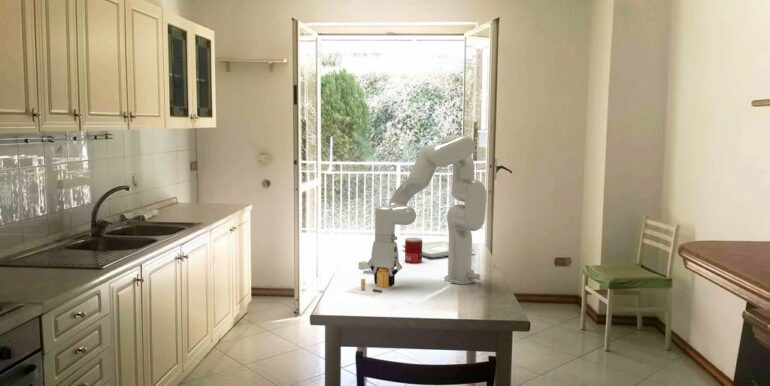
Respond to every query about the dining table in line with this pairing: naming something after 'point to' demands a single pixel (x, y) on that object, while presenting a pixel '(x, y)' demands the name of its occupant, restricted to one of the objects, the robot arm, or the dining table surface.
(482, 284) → the dining table surface
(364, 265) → the bracket
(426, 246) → the square plate
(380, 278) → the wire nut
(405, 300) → the dining table surface
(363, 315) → the dining table surface
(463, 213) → the robot arm
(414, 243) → the canned food
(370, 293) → the junction plate
